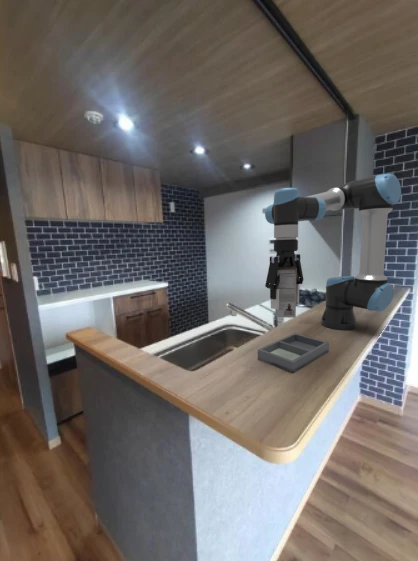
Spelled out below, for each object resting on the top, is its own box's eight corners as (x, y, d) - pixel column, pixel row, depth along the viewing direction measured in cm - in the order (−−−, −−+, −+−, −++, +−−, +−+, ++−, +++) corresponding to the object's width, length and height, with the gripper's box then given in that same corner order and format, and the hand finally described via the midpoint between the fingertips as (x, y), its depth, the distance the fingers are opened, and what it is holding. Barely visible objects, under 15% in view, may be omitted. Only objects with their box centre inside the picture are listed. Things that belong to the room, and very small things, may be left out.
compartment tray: (294, 341, 107) (294, 333, 106) (328, 351, 96) (328, 342, 95) (257, 358, 92) (257, 349, 92) (292, 373, 81) (293, 362, 81)
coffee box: (274, 310, 93) (274, 265, 91) (293, 310, 92) (294, 264, 90) (275, 317, 84) (276, 267, 82) (296, 318, 83) (297, 267, 81)
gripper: (295, 238, 95) (294, 298, 98) (253, 240, 80) (253, 310, 83) (315, 237, 89) (313, 301, 92) (273, 239, 74) (273, 314, 78)
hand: (285, 305), depth 88 cm, fingers closed on coffee box, 11 cm apart
